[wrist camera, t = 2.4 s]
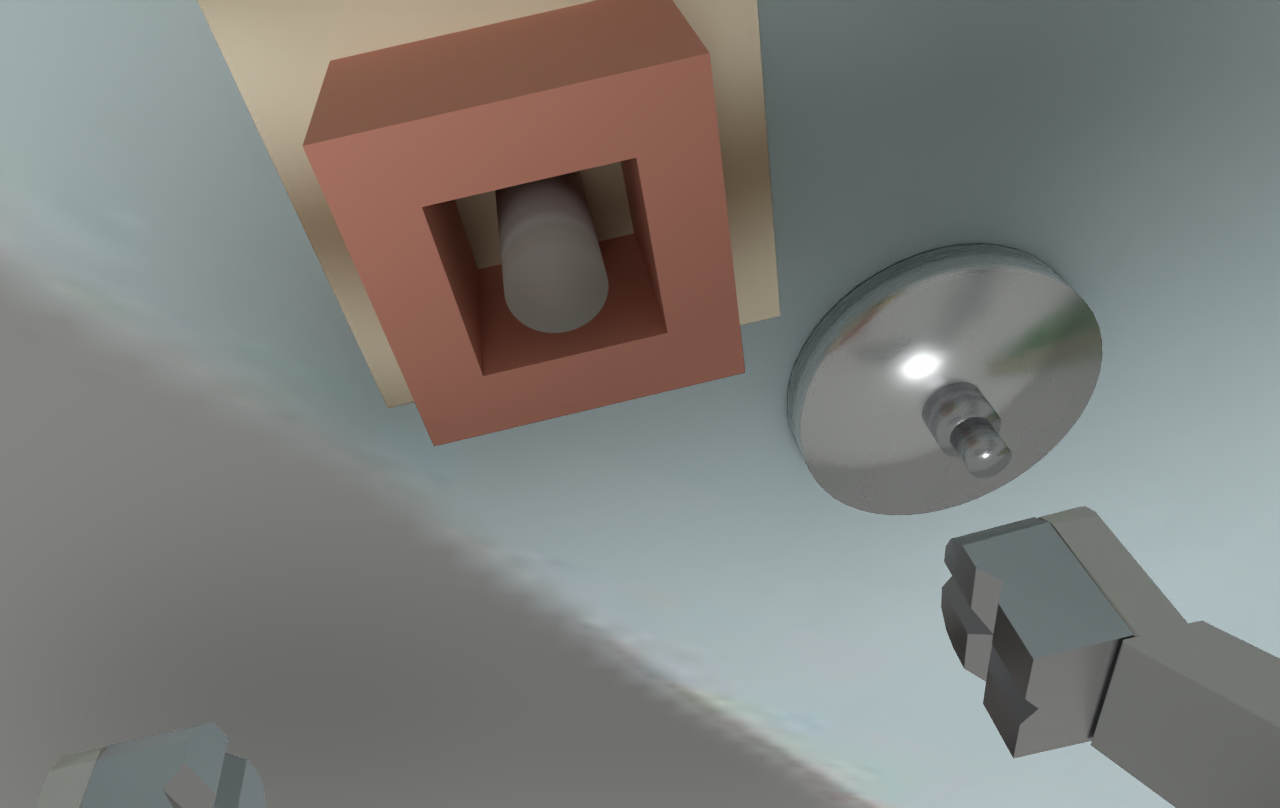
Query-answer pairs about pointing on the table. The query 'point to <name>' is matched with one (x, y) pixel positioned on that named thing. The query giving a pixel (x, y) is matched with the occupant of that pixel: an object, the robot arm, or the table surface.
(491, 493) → the table surface
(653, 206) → the brown square ring block
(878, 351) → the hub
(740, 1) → the stand
